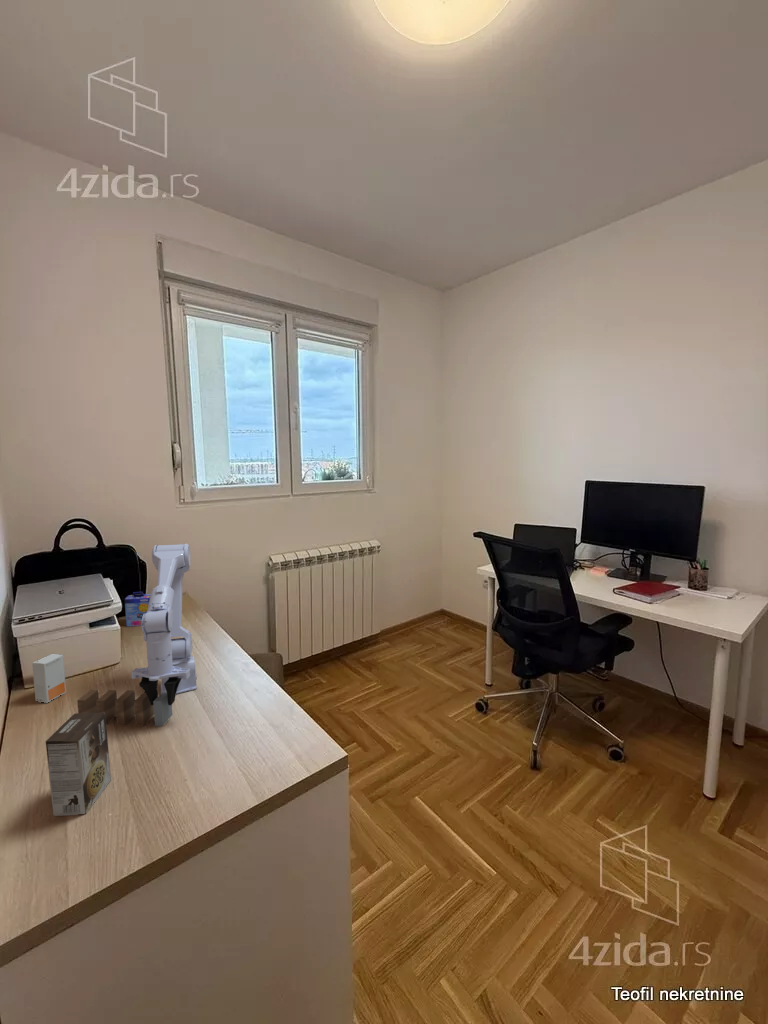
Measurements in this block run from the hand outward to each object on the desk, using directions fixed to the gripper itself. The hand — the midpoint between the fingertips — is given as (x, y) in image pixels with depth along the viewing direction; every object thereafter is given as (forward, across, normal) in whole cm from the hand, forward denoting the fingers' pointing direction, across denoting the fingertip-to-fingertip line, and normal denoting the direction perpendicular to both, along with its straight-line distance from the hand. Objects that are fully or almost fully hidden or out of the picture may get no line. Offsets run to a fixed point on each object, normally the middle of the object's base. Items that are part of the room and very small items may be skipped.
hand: (162, 703), depth 111 cm
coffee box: (+5, -3, -26) cm, 27 cm away
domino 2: (+5, -15, 0) cm, 16 cm away
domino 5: (+5, 0, 0) cm, 5 cm away
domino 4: (+5, -5, 0) cm, 7 cm away
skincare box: (+5, -38, +10) cm, 40 cm away
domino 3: (+5, -10, 0) cm, 11 cm away
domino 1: (+5, -20, 0) cm, 21 cm away
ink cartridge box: (+6, -45, +65) cm, 79 cm away
